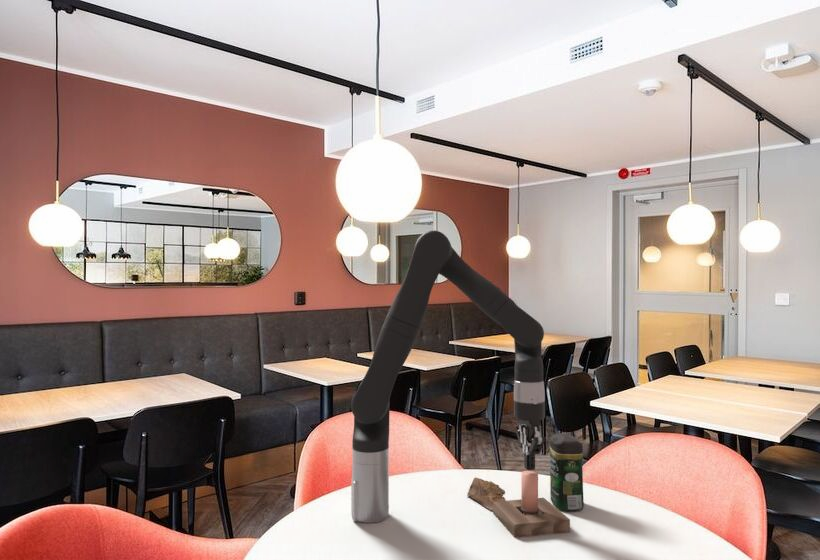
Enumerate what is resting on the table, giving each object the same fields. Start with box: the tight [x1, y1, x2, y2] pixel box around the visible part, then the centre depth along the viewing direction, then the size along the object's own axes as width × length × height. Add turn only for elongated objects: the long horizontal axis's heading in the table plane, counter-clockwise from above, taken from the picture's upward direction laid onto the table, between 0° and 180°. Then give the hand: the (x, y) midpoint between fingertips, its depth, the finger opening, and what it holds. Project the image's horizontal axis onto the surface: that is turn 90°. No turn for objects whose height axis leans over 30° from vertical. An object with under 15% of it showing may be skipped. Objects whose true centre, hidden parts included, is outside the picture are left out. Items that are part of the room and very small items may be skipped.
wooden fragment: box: [466, 477, 506, 512], centre depth 154 cm, size 26×11×1 cm, turn 0°
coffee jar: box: [549, 432, 584, 512], centre depth 145 cm, size 10×8×19 cm
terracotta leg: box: [520, 470, 539, 516], centre depth 134 cm, size 4×4×12 cm
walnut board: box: [492, 497, 571, 538], centre depth 134 cm, size 14×14×3 cm
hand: (529, 469), depth 134 cm, fingers closed
